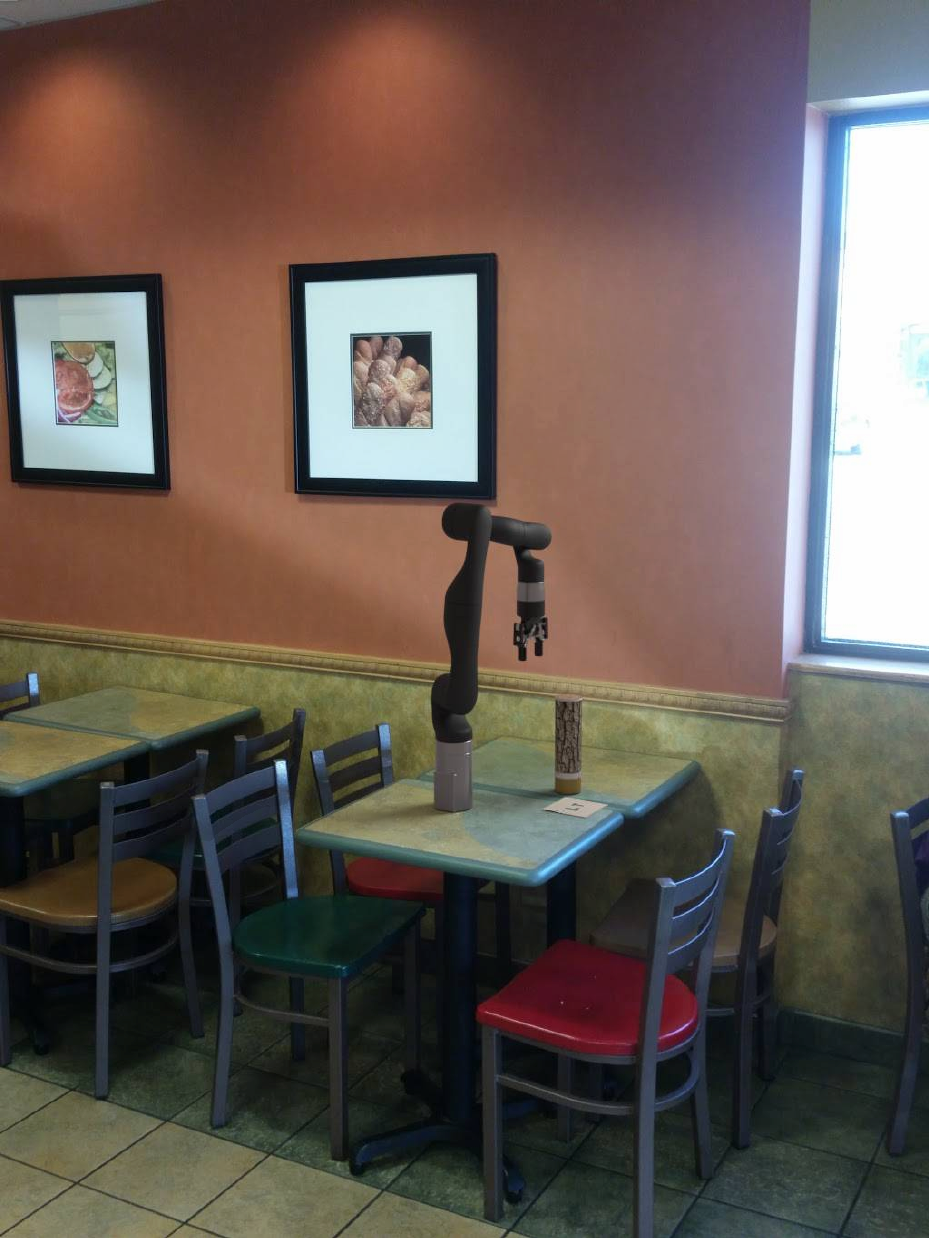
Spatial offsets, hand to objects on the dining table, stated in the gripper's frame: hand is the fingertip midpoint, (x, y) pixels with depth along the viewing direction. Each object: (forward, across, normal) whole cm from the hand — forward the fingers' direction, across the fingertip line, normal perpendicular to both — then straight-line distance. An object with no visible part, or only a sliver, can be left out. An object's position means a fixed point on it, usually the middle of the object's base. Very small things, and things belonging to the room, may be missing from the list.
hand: (530, 658), depth 329 cm
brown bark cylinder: (+32, -8, -16) cm, 37 cm away
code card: (+32, -19, -24) cm, 44 cm away
